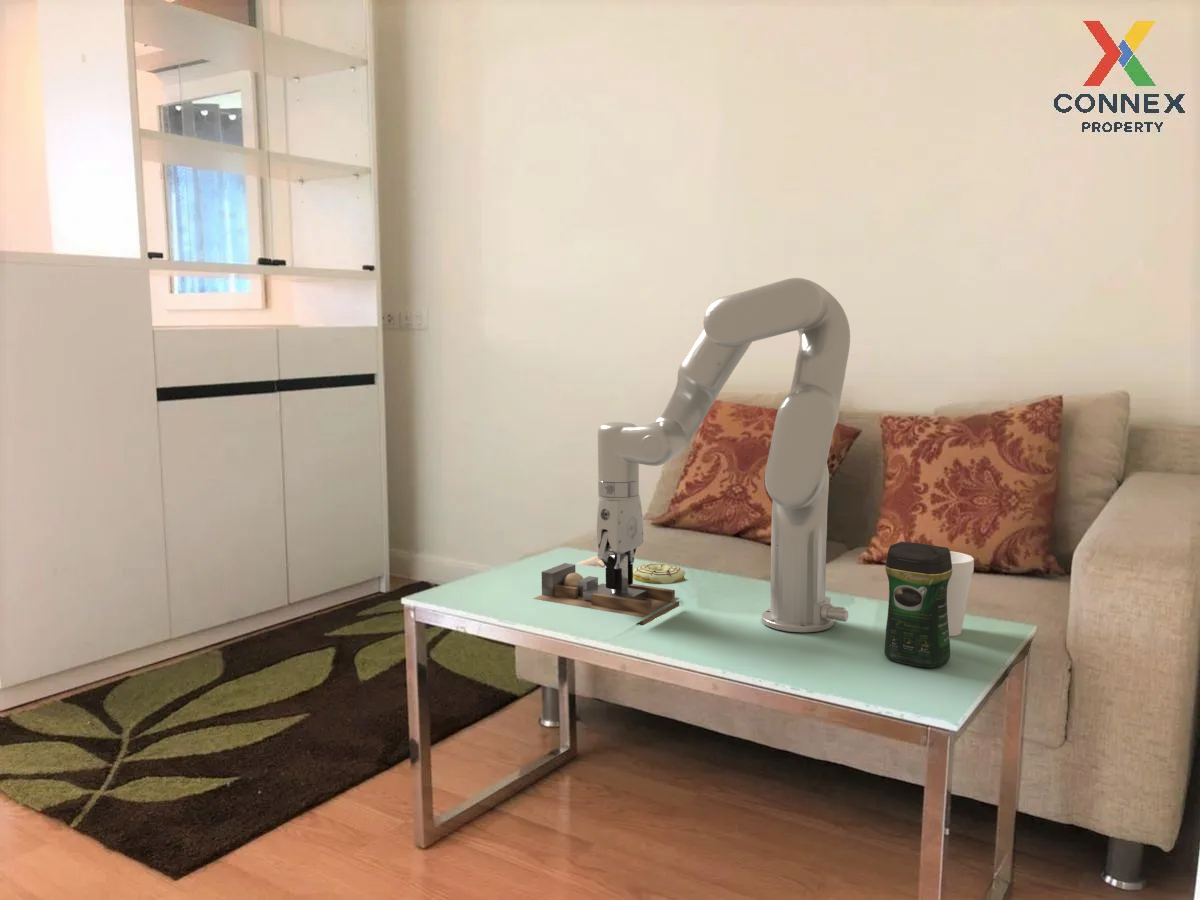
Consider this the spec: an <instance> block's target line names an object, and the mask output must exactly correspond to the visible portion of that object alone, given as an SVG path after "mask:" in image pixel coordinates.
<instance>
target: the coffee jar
mask: <svg viewBox="0 0 1200 900" xmlns="http://www.w3.org/2000/svg"><path fill="white" fill-rule="evenodd" d="M886 555H887V556H886V563H885V573H886V575H887V578H888V607H887V608H888V609H887V617H886V625H885V635H884V642H883V645H884V647H883V654H884V656H885V657H886V658H887V659H889V660H890V661H894V662H898V663H900V664H901V663H902V664H904V665H905V664H906V665H910V666H915V667H922V668H934V667H941V666H943V665H945V664H946V663H947V662H948V661H949V660H950V659H951V644H950V642H951V640H950V636H949V628H948V615H947V586H948V582H949V579H950V577H951V575H952V562H951V554H950V548H948V547H947V546H946V547H945V546H939V545H932V544H928V543H927V544H925V543H921V542H920V543H918V542H910V541H899V542H896V543H894V544H891V545H890V546H889V547H888V551H887V554H886Z"/></svg>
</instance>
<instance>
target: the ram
mask: <svg viewBox="0 0 1200 900" xmlns="http://www.w3.org/2000/svg"><path fill="white" fill-rule="evenodd" d="M610 556H612V557H613V558H615V555H610ZM619 568H622V589H620V590H616V589H609V588H606V583H599V577H597V576H591V575H589V576H586V577H583V579H581V580H579V581H578V596H580V597H583V599H584V600H590V601H591V594H593V593H599V594H605V595H612V596H618V597H624V598H631V599H637V600H644V599H646V598H647V590H642V589H636V588H629V587H628V555H627V554H624V553H622V554H620V567H619Z"/></svg>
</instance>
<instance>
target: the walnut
mask: <svg viewBox="0 0 1200 900" xmlns="http://www.w3.org/2000/svg"><path fill="white" fill-rule="evenodd" d="M583 578H584V577H583V575H581V574H580V573H578V572H575V573H570V574H568V575H567V576H566V577H565V579H564V586H571V587H577V588H578V581H579V580H581V579H583Z"/></svg>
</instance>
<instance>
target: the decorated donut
mask: <svg viewBox="0 0 1200 900" xmlns="http://www.w3.org/2000/svg"><path fill="white" fill-rule="evenodd" d="M685 576H686V572H685V570H684V569H683V568H681V567H679V566H676V565H672V564H666V563H657V562H656V563H646V564H640V565H637V566H636V567H635V568H633V580H635V581H638V582H641V583H646V584H647V583H649V584H661V585H666V584H667V585H668V584H673V583H679V582H681V581H683V580H685Z"/></svg>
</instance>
